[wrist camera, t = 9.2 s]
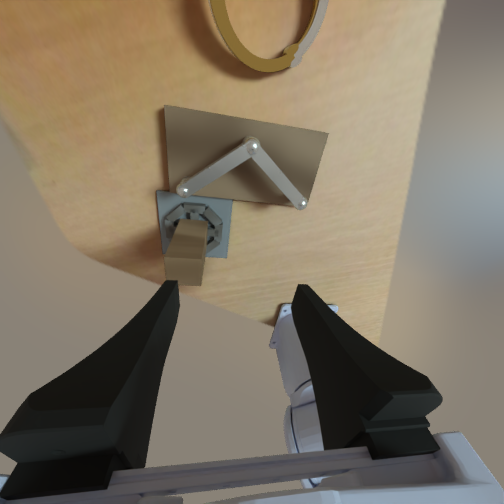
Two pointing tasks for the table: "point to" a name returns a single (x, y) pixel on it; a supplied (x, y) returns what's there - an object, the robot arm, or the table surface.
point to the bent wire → (233, 159)
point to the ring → (290, 53)
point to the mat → (219, 206)
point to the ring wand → (190, 242)
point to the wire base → (249, 172)
